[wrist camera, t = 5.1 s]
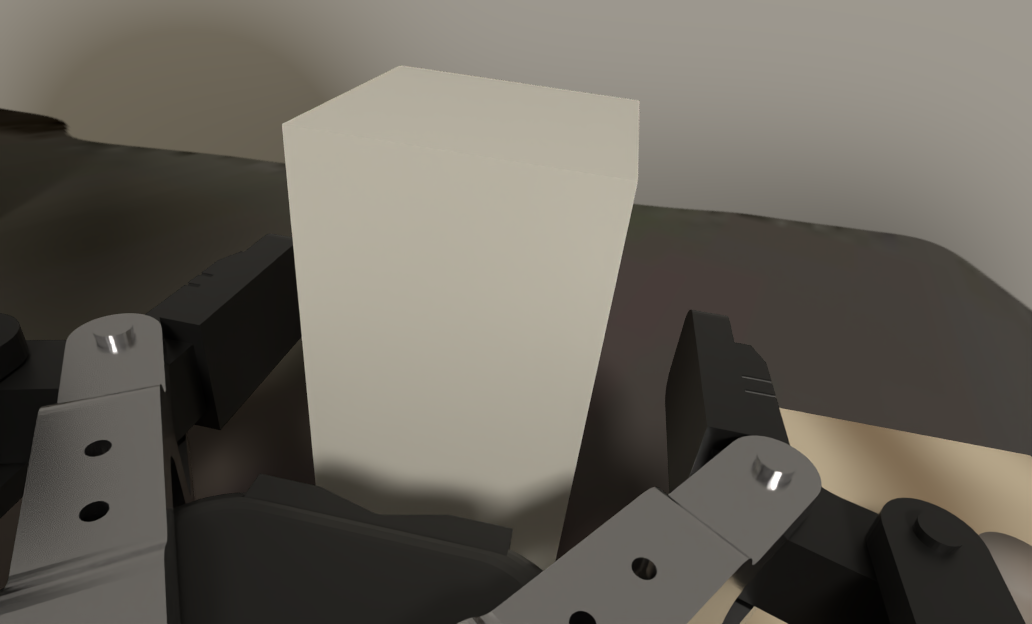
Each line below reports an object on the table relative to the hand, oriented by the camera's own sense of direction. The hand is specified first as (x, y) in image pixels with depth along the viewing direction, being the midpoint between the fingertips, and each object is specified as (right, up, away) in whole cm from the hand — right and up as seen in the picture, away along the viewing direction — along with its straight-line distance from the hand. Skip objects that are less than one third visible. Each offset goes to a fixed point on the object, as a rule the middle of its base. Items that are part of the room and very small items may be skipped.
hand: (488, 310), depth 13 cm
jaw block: (-1, -6, +2) cm, 7 cm away
